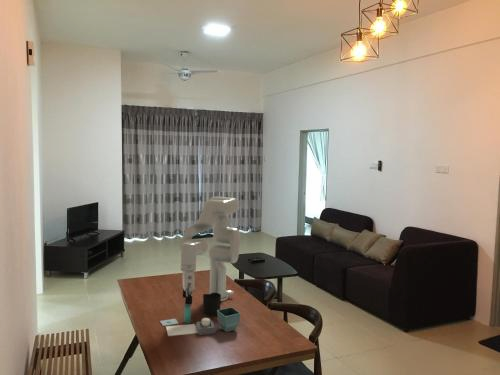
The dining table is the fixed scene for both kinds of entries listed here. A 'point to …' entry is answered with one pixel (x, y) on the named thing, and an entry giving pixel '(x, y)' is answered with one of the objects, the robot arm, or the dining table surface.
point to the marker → (187, 313)
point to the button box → (205, 328)
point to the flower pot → (228, 318)
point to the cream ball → (205, 322)
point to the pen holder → (211, 304)
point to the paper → (181, 330)
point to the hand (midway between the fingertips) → (187, 300)
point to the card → (169, 322)
